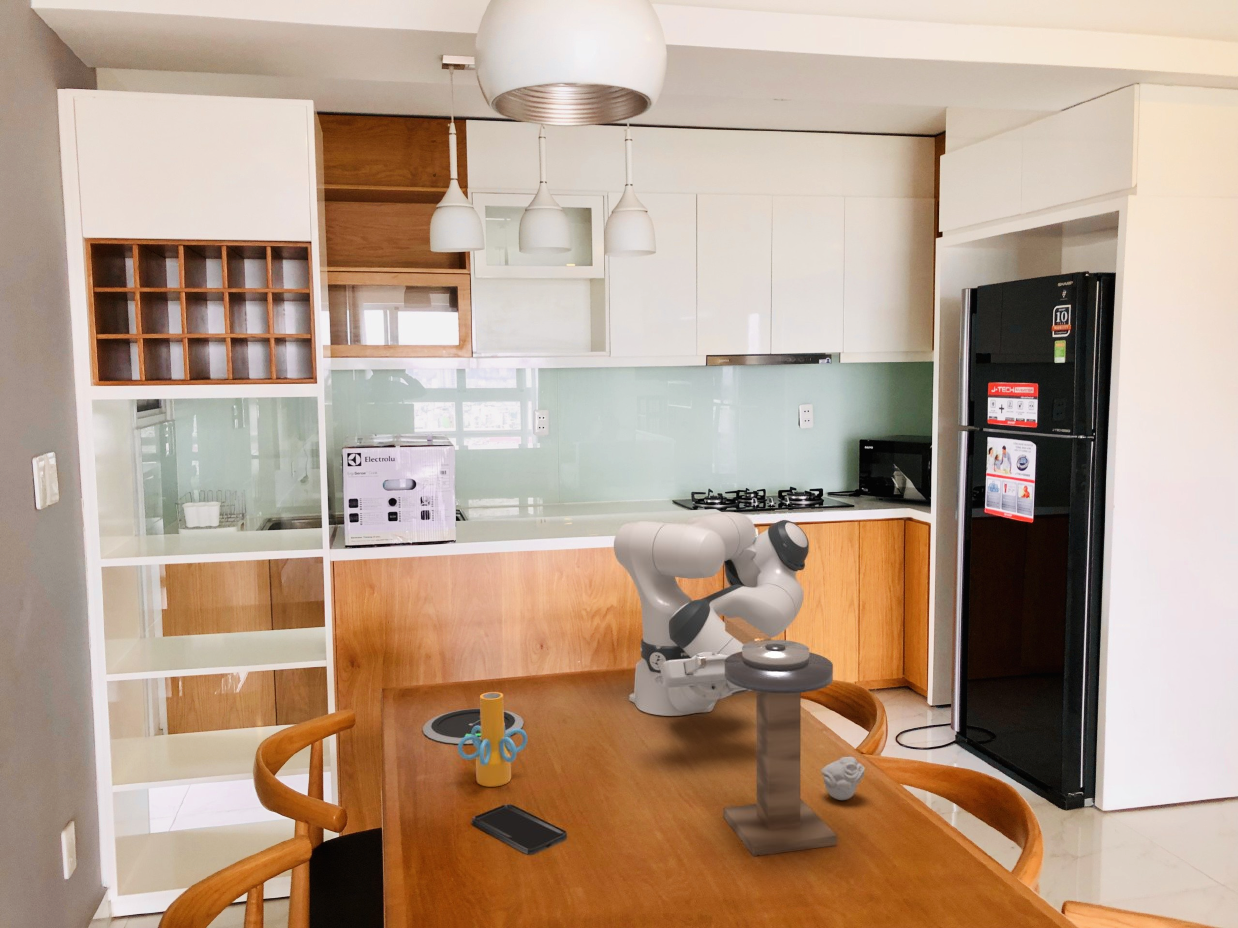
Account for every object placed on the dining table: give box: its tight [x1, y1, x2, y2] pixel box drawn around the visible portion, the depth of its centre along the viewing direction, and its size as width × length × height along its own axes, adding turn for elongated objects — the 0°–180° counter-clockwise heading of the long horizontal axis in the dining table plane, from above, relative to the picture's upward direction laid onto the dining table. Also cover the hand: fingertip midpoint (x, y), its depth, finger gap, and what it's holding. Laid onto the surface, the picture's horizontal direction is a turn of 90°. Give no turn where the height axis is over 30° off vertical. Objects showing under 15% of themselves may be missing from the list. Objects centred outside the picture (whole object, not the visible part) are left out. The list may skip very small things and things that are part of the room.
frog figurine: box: [820, 756, 866, 801], centre depth 155 cm, size 6×7×7 cm
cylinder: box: [457, 691, 528, 788], centre depth 164 cm, size 12×10×15 cm
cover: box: [724, 617, 810, 671], centre depth 150 cm, size 24×10×2 cm, turn 13°
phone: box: [471, 803, 568, 856], centre depth 146 cm, size 8×1×15 cm
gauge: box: [422, 707, 525, 746], centre depth 191 cm, size 20×20×1 cm
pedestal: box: [722, 651, 838, 857], centre depth 144 cm, size 16×16×26 cm
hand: (728, 658), depth 165 cm, fingers open, 8 cm apart
